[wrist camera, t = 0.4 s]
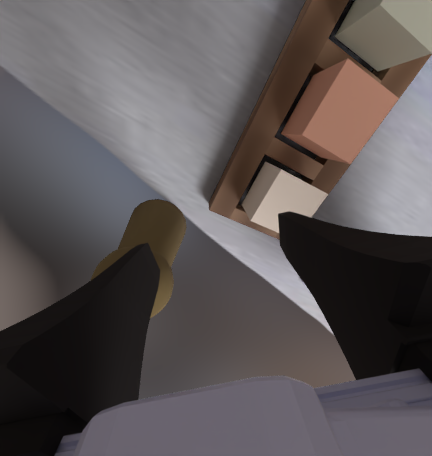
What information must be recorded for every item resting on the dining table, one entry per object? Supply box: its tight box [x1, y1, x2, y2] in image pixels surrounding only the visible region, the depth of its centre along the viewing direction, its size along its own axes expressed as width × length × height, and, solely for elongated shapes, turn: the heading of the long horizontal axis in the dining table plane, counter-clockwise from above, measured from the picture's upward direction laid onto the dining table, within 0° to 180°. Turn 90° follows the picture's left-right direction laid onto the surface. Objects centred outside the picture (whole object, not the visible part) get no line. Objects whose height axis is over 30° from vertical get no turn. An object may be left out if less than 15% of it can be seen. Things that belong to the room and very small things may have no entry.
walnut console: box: [209, 0, 432, 240], centre depth 17 cm, size 10×22×2 cm, turn 154°
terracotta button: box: [281, 58, 399, 164], centre depth 15 cm, size 4×4×4 cm
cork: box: [91, 199, 186, 318], centre depth 17 cm, size 6×6×11 cm
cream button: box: [242, 162, 328, 233], centre depth 17 cm, size 4×4×4 cm
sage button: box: [335, 0, 432, 71], centre depth 12 cm, size 4×4×4 cm
